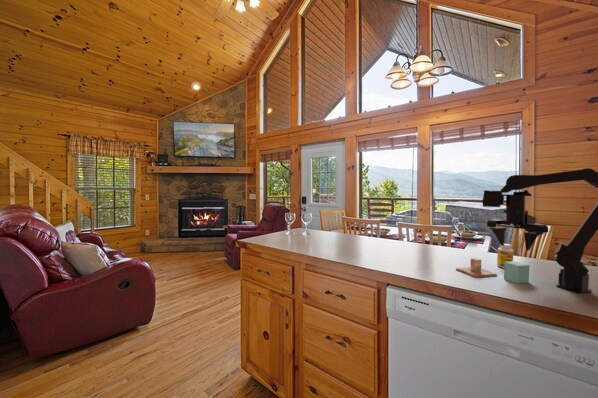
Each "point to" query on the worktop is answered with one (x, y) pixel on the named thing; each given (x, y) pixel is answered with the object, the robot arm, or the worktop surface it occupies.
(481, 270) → the post fixture
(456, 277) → the worktop surface
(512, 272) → the mint tissue box
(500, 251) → the supplement bottle
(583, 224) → the robot arm
